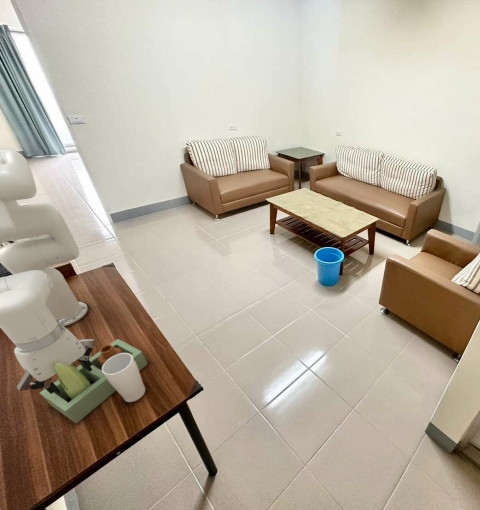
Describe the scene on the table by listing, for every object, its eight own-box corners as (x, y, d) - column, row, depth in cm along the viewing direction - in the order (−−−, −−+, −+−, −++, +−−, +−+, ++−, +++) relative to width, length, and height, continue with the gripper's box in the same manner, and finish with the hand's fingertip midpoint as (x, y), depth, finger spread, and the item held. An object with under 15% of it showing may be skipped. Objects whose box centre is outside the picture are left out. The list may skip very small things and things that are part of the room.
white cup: (128, 410, 75) (108, 379, 67) (116, 396, 78) (96, 365, 70) (153, 391, 80) (138, 360, 72) (141, 379, 83) (125, 348, 75)
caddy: (51, 405, 74) (39, 392, 71) (124, 351, 90) (117, 338, 87) (76, 423, 71) (65, 411, 68) (147, 364, 87) (141, 351, 84)
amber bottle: (104, 374, 83) (89, 352, 77) (122, 360, 87) (109, 338, 81) (116, 381, 82) (102, 359, 76) (133, 367, 86) (122, 345, 80)
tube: (67, 406, 75) (30, 363, 64) (81, 388, 79) (48, 345, 68) (89, 406, 75) (55, 364, 65) (101, 389, 79) (72, 346, 69)
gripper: (72, 307, 71) (98, 350, 80) (-24, 358, 57) (22, 402, 67) (91, 317, 69) (116, 360, 78) (-4, 372, 55) (40, 416, 65)
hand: (72, 379), depth 72 cm, fingers open, 6 cm apart
